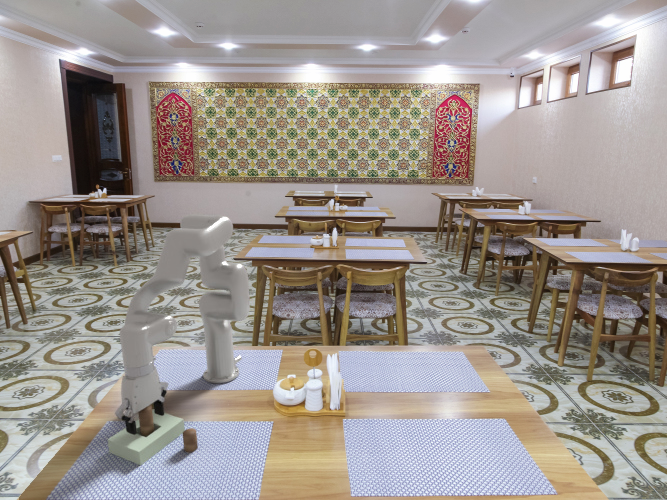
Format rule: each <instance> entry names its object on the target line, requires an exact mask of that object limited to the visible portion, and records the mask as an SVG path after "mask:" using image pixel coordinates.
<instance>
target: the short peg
mask: <svg viewBox="0 0 667 500" xmlns="http://www.w3.org/2000/svg"><path fill="white" fill-rule="evenodd" d="M182 441H183V443H182V444H183V450H184V452H186V453H187V454H188V453H189V454H191V453H194V452H195V451H197V450H198V435H197V429H195V428H193V427H192V428H191V427H190V428H186V429H185V431H184V432H183V433H182Z"/></svg>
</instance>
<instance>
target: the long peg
mask: <svg viewBox="0 0 667 500" xmlns="http://www.w3.org/2000/svg"><path fill="white" fill-rule="evenodd" d="M152 410H153V409H152V404H150V405H149V406H147V407H146V408H144V409H142V410H141V411H139V412H137V415H138V419H139V423H140V432H141V436H144V437H147V436H149V435H150V434H152V433H153V432H154V422H153V413H152Z"/></svg>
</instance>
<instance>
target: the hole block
mask: <svg viewBox="0 0 667 500" xmlns="http://www.w3.org/2000/svg"><path fill="white" fill-rule="evenodd" d="M152 413H153V422H154V432H153V433H152V434H150V435H149V436H147V437H144V436H141V432H140V423H139V418H138V419H136V420H134V421H135V422H136V430H137V434H135V435H133V434H130V433H128V432H127V431H126V427H125V428H123V429H120V430H119V431H118V432H117V433H115V434H114V435H112V436H110V437H109V438H108V439H107V444H108V445H107V446H108V451H109V452H108V453H110V454H112V455H115V456H117V457H119V458H121V459H124V460H127V461H129V462H132V463H134V464H137V465H139V466H142V465H143V464H144V463H146V462H147V461H149V460H150V459H151V458H152V457H154V456H155V455H156V454H157V453H159V452H160V451H162V450H163V449H164V448H165V447H166V446H168V445H169V444H171V442H173V441H175V439H177V438H178V437H180V436H181V435H183V432H184V431H185V430H186V429H185V419H184V418H181V417H178V416H175V415H172V414H170V413H167V412H164V415H163V416H161V415H158V414H155V412H154V409H152Z"/></svg>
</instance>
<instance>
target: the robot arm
mask: <svg viewBox="0 0 667 500" xmlns="http://www.w3.org/2000/svg"><path fill="white" fill-rule="evenodd" d="M233 230H234V225H233V222H232V220H231V219H230V218H229V217H228V216H226V215H215V214H214V215H213V214H199V213H196V214H193V213H191V214H187V215H184V216H183V217H182V218H181V219H180V228H174V229H172V230H169V232H167V234H166V237H165V240H164V243H163V246H162V250H161V252H160V255H159V259H158V262H157V265H156V267H155V268H156V269H155V271H154V274H153V275H152V277H151V278H150V279H149V280H147V281H146V282H145V283H144V284H143V285H141V287H140V288H139V289H138V290H137V291H136V292H135V294H134V295H133V296H132V298H131V300H130V303H129V306H128V309H127V312H126V315H125V317H124V318H125V319H124V325H123V326H122V327H121V328H120V330H119V339H120V347H121V353H122V354H121V355H122V362H123V363H122V364H123V368H124V369H123V371H124V375H123V376H122V378H121V379H122V380H121V389H120V390H121V392H120V394H121V397H120V398H121V404H120V405H119V406H118V408H117V409H116V410H115V412H114V415H115V416H116V417H117V418H118V420H121V421H123V422H124V424H125V428H126V431H127V432H128V433H130V434H133V435H135V434H137V430H136V422H135V421H136V420H135V417H136V416H137V414H138V412H139V411H141V410H142V409H144V408H146V407H147V406H149V405H150V404H152V403H153V404H154V412H155V414H158V415H161V416H163V415H164V413H165V410H164V409H165V408H164V402H165V400H166V399H165V397H166V395H167V394H168V391H167V390H168V386H169V382H166V381H161V380H160V375H159V372H158V369H157V367H156V365H155V361H156V359H157V357H156V356H155V355H154V351H153V349H154V348H153V347H154V346H155V345H158V344H160V343H164V342H167V341H168V340H169V339H171V338H172V337H173V336H174V335H175V334H176V332H177V328H178V324H177V320H176V319H175V318H174V317H173V316H172V315H169V314H166V313H165V314H164V313H156V312H151V311H149V312H148V310H149V307H150V305H151V304H152V303H153V301H154V300H155V299H156V298H157V297H158V296H160V295H161V294H163V293H166V292H168V291H169V290H172V289H175V288H176V287H179V286H182V285H183V284H184V282H185V280H186V275H187V271H188V268H189V264H190V262H191V258H199V259H198V260H199V269H200V278H201V283H202V285H203V287H205V288H208V289H212V290H209V291H206V292H204V293H203V294H202V295H201V297H200V299H199V301H198V309H199V313H200V317H201V320H202V324H203V331H204V333H203V334H204V344H205V358H206V368H207V369H206V370H204V372H203V375H202V376H203V379H204V381H205V382H207V383H211V384H225V383H229V382H231V381H233V380H235V379H236V378H238V376H239V375H240V369H239V367H238V366H237V363H239V362H240V361H242V359H243V357H242V356H241V355H237V356H235V354H234V341H233V338H234V337H233V328H232V325H231V322H230V321H233V322H242V321H245V320H246V319H247V317H248V316H249V313H250V308H251V303H250V299H251V298H250V287H249V275H248V270H247V268H246V267H245V266H244V265H243V264H242V263H239V262H232V261H229V262H228V261H227V259H226V251H225V247H224V245H225V244H226V243H227V242H228V241H229V240H230V239H231V237H232V235H233V233H234V232H233ZM223 290H224V291H223ZM130 413H131V414H130ZM129 415H130V416H129Z"/></svg>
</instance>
